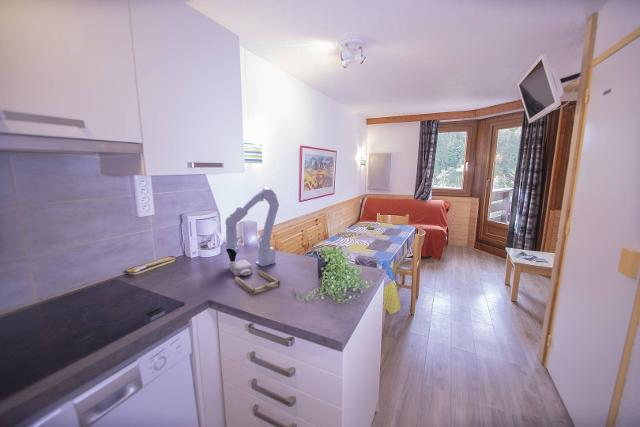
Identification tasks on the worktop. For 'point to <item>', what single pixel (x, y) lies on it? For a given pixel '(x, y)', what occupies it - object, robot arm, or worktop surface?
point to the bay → (261, 288)
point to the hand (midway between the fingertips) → (232, 261)
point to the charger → (241, 267)
